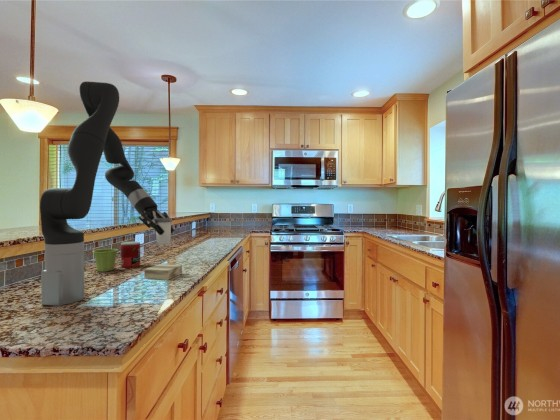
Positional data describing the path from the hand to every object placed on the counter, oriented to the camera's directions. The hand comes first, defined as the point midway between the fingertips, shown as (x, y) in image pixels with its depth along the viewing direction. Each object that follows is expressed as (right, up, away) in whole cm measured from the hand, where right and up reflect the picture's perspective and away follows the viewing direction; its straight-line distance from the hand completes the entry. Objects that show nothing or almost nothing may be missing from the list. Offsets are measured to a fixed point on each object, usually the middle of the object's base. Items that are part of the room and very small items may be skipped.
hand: (167, 232), depth 112 cm
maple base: (-2, -17, +1) cm, 17 cm away
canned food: (-24, -17, +17) cm, 34 cm away
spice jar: (-2, -4, +1) cm, 5 cm away
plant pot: (-31, -17, +10) cm, 36 cm away
